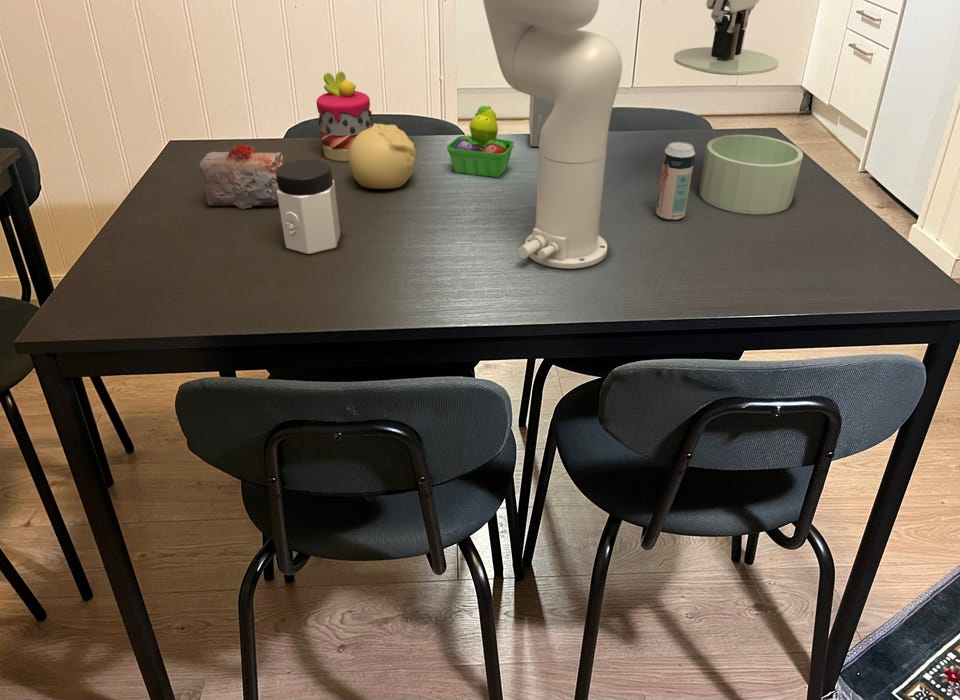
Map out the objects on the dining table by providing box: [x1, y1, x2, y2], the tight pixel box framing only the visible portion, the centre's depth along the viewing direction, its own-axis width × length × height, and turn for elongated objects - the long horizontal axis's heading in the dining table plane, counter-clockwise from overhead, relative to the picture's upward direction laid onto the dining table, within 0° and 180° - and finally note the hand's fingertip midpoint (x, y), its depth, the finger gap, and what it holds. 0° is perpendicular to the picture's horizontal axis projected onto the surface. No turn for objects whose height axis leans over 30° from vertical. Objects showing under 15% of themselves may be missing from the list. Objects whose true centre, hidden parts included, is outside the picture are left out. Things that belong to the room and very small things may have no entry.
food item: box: [199, 144, 284, 210], centre depth 129 cm, size 14×8×10 cm, turn 91°
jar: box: [276, 158, 341, 255], centre depth 115 cm, size 9×8×12 cm
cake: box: [316, 71, 373, 162], centre depth 148 cm, size 10×11×15 cm
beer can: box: [655, 141, 696, 221], centre depth 123 cm, size 5×5×12 cm
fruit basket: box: [446, 105, 515, 178], centre depth 141 cm, size 11×9×11 cm
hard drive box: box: [528, 95, 554, 147], centre depth 155 cm, size 16×8×20 cm, turn 179°
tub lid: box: [672, 22, 779, 76], centre depth 123 cm, size 17×17×7 cm
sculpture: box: [348, 123, 417, 190], centre depth 136 cm, size 12×12×11 cm
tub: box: [698, 134, 804, 215], centre depth 131 cm, size 16×16×8 cm
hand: (725, 54), depth 124 cm, fingers closed on tub lid, 2 cm apart
